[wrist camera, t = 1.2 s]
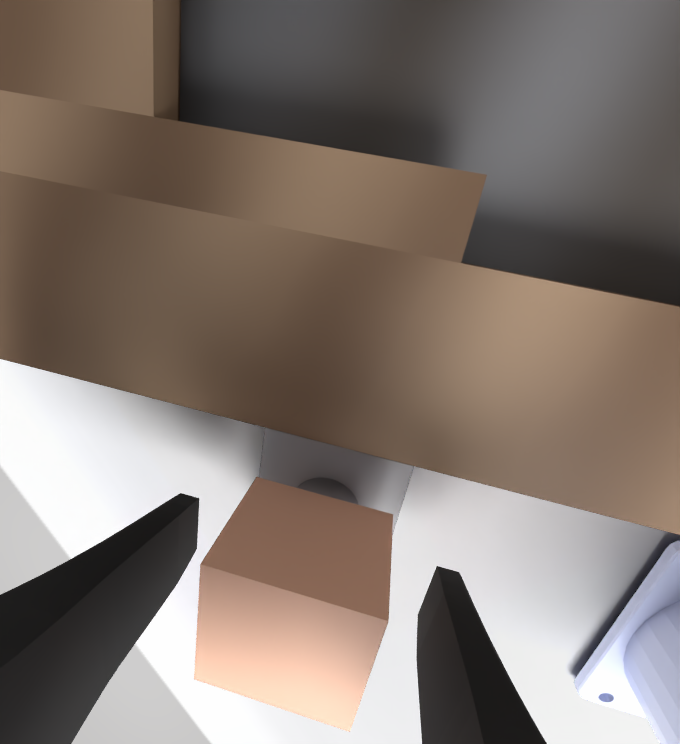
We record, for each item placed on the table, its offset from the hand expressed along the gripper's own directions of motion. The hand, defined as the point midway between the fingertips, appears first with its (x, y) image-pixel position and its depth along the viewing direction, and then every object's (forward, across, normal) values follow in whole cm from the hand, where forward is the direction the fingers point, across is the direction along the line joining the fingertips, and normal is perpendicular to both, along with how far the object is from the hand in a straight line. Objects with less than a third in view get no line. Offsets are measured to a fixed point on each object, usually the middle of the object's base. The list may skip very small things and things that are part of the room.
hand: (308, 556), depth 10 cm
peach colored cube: (+3, 0, 0) cm, 3 cm away
